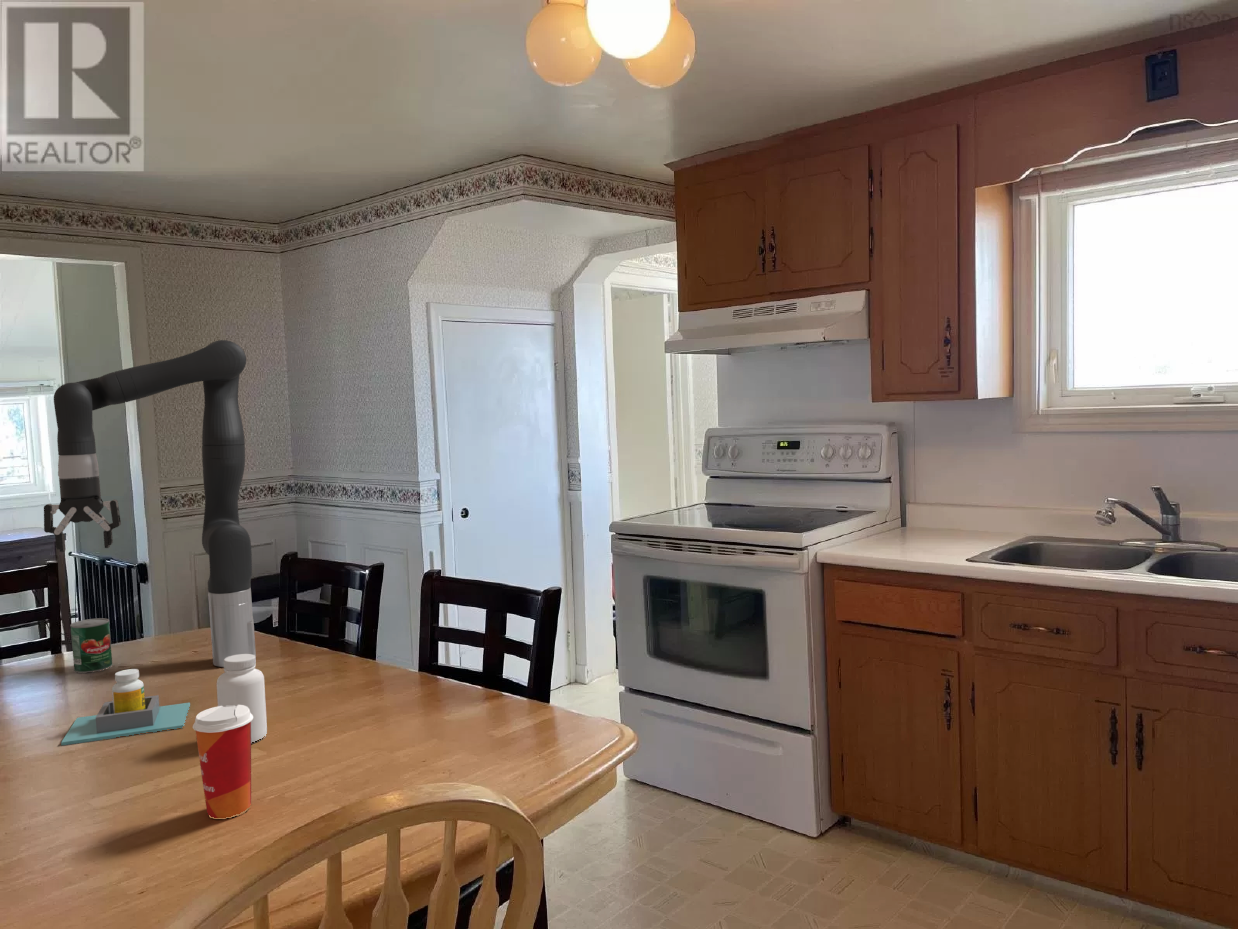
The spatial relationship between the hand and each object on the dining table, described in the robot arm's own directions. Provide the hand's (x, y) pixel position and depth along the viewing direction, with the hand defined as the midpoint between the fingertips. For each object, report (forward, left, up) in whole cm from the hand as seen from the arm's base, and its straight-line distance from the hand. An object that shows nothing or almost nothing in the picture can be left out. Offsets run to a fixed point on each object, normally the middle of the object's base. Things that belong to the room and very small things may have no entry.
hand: (85, 549), depth 199 cm
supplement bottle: (-11, +32, -30) cm, 45 cm away
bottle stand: (-11, +32, -30) cm, 45 cm away
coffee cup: (-31, +81, -30) cm, 92 cm away
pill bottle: (-32, +50, -30) cm, 67 cm away
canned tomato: (+3, -15, -30) cm, 34 cm away
